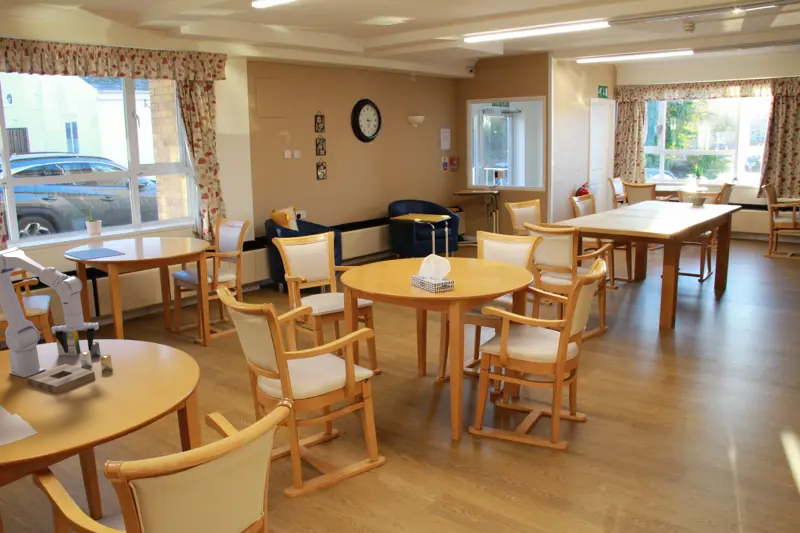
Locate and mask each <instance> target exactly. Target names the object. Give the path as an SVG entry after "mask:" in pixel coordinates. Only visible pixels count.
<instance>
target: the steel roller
mask: <svg viewBox="0 0 800 533" xmlns="http://www.w3.org/2000/svg"><path fill="white" fill-rule="evenodd" d="M78 355H79V360H80V366H81V367H80V368H83V369H88V368H91V367H93V364H92V363H93V362H92V358H91V355H90V351H89V350H88V351H86V350H85V351H82V352H81V353H80V354H78Z"/></svg>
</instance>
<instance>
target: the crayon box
mask: <svg viewBox="0 0 800 533" xmlns="http://www.w3.org/2000/svg"><path fill="white" fill-rule="evenodd" d="M54 334H55V335H56V333H54ZM55 335H54V336H55ZM55 340H56V348H57V352H58V356H59V357H62V356H78V355H79V354H80V353H81V346H80V338H79V333H78V331H69V332H67V344H68V349H69V351H68V352H67V353H65V352H64V349H63V347H62V345H61V344H60V342H59V341H58V340H57V339H56V338H55Z"/></svg>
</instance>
